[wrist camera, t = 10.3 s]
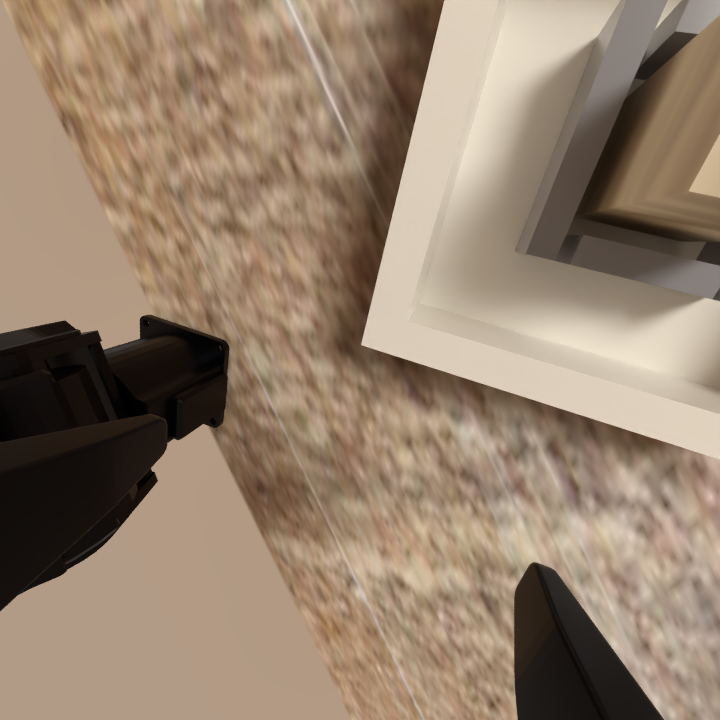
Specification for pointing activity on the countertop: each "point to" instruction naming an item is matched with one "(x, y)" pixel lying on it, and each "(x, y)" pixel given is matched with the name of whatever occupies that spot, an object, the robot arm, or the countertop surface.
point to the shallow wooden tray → (548, 223)
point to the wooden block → (665, 151)
